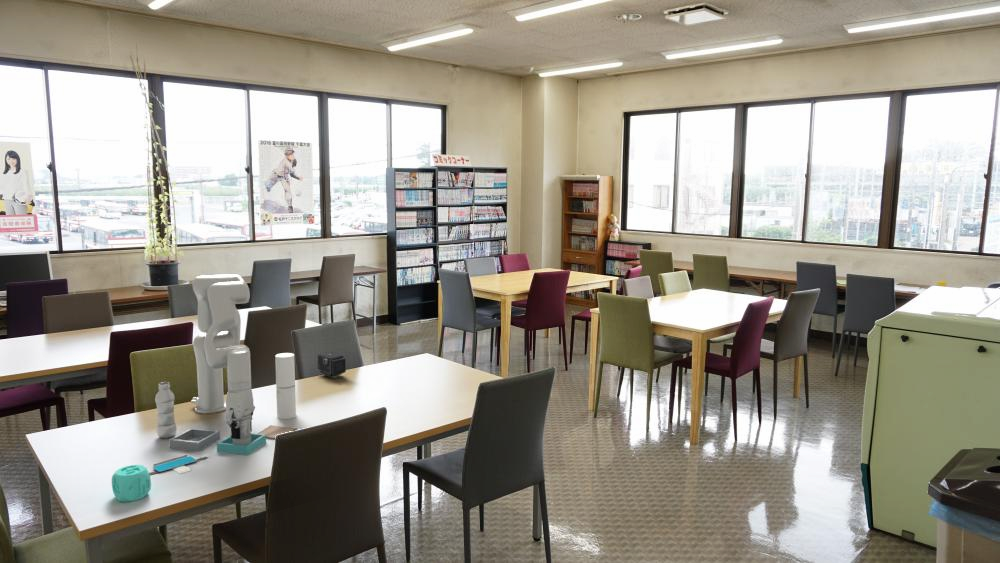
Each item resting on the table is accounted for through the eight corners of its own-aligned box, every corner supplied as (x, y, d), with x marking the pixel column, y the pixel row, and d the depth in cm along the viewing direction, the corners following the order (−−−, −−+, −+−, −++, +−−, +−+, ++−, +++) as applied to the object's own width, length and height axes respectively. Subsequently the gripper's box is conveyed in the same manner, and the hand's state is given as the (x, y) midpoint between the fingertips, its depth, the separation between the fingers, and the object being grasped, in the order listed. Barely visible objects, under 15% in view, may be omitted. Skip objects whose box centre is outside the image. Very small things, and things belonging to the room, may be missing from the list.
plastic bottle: (157, 441, 238) (153, 387, 235) (157, 435, 244) (153, 382, 241) (177, 438, 241) (174, 384, 238) (176, 432, 247) (173, 380, 244)
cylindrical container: (290, 419, 261) (288, 357, 258) (273, 418, 263) (271, 356, 260) (299, 413, 268) (297, 353, 265) (283, 412, 270) (281, 352, 266)
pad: (253, 437, 243) (253, 435, 243) (270, 426, 253) (270, 425, 253) (281, 439, 240) (281, 438, 240) (296, 429, 251) (296, 427, 251)
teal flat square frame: (217, 451, 229) (216, 443, 229) (237, 439, 240) (237, 431, 240) (247, 455, 226) (246, 446, 226) (266, 442, 238) (265, 434, 237)
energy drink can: (246, 442, 238) (245, 402, 236) (254, 447, 233) (252, 406, 231) (230, 446, 233) (228, 405, 231) (237, 451, 229) (235, 409, 227)
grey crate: (169, 447, 232) (169, 439, 231) (191, 436, 243) (191, 428, 243) (198, 451, 229) (198, 442, 229) (219, 439, 241) (219, 431, 240)
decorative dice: (122, 505, 190) (120, 478, 189) (112, 496, 195) (110, 470, 194) (151, 495, 196) (150, 469, 195) (141, 487, 201) (139, 462, 200)
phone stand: (153, 483, 205) (152, 478, 205) (137, 473, 212) (137, 468, 212) (216, 464, 220) (216, 459, 220) (199, 454, 227) (199, 450, 227)
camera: (315, 377, 324) (331, 381, 313) (313, 354, 323) (329, 357, 312) (334, 373, 331) (350, 376, 321) (332, 351, 331) (349, 353, 320)
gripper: (244, 377, 239) (246, 425, 242) (214, 391, 223) (216, 443, 225) (263, 379, 238) (265, 427, 240) (234, 393, 221) (236, 445, 224)
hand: (241, 434), depth 233 cm, fingers closed on energy drink can, 6 cm apart
